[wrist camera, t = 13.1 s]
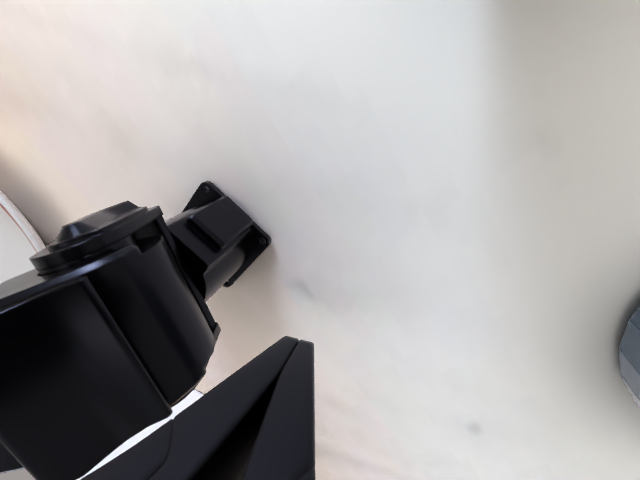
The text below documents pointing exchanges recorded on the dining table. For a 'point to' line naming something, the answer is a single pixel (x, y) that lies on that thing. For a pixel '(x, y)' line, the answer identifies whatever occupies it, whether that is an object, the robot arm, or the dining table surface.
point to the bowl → (631, 356)
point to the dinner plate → (16, 241)
